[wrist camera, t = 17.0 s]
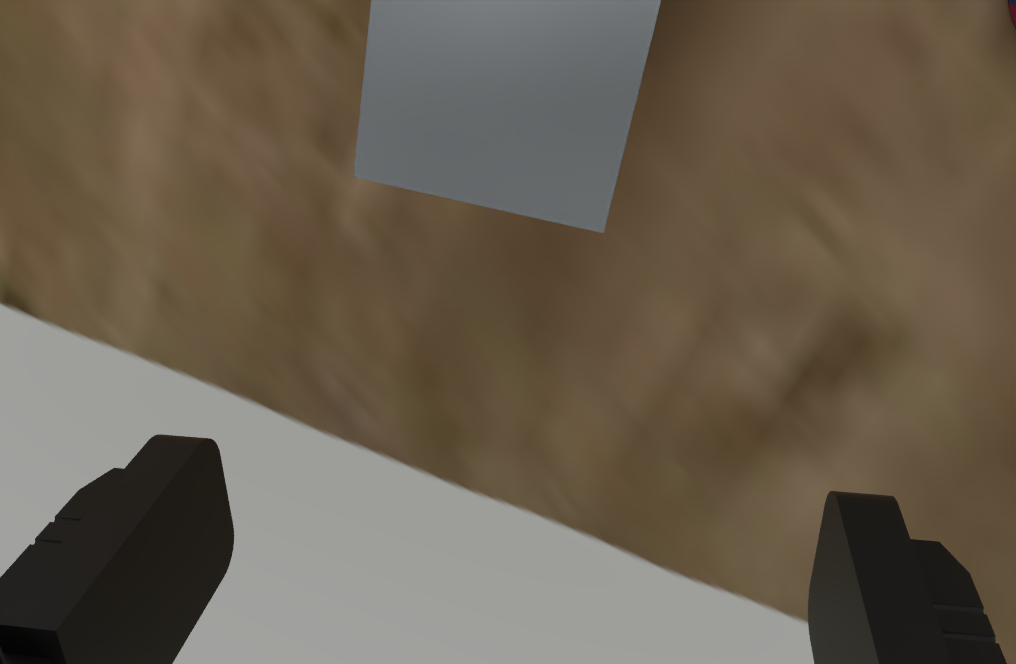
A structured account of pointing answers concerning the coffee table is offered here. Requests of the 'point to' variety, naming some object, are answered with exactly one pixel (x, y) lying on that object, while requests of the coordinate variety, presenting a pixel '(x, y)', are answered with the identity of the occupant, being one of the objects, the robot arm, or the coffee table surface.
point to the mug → (1012, 10)
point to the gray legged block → (504, 101)
